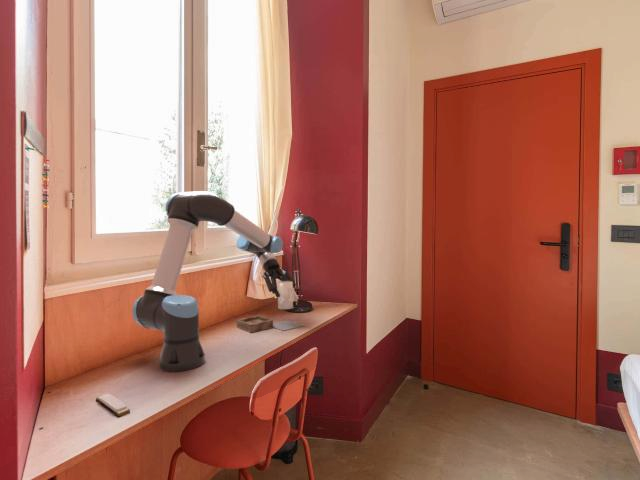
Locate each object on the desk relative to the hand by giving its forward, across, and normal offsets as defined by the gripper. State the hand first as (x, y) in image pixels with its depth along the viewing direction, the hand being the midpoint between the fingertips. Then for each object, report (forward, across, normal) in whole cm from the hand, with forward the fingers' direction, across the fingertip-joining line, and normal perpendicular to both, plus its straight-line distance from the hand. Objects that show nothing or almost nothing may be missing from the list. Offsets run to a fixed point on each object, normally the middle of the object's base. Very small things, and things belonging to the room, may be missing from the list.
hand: (290, 300), depth 175 cm
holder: (+1, -12, +17) cm, 21 cm away
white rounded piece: (+1, 0, +4) cm, 4 cm away
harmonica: (+27, -80, -9) cm, 85 cm away
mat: (+6, 0, +11) cm, 13 cm away
